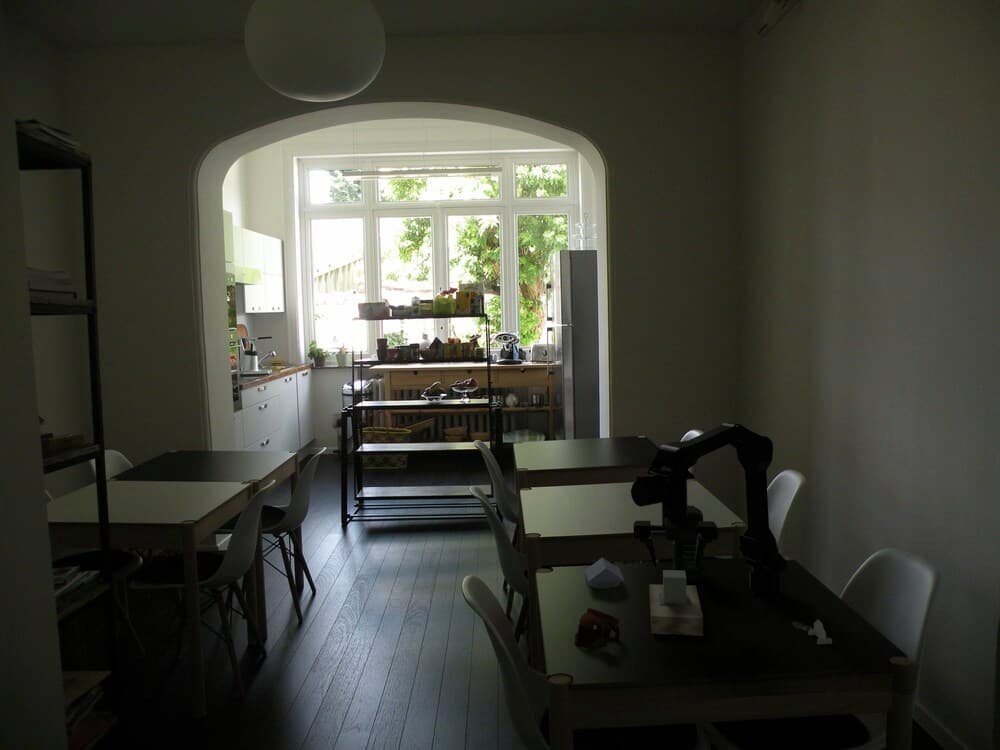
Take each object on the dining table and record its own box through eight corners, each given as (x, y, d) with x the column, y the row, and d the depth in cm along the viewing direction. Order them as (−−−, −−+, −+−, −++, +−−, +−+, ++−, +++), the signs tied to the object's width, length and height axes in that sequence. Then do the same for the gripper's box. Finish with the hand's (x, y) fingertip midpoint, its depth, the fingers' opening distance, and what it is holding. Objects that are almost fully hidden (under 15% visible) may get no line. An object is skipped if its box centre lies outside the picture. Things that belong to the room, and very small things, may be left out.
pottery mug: (565, 640, 174) (577, 603, 176) (603, 655, 176) (615, 618, 178) (584, 648, 163) (597, 608, 165) (625, 664, 164) (637, 624, 166)
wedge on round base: (624, 593, 199) (617, 576, 212) (623, 567, 199) (617, 551, 212) (588, 594, 200) (584, 577, 213) (587, 568, 199) (583, 552, 212)
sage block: (685, 595, 185) (684, 570, 185) (686, 603, 180) (686, 577, 180) (663, 595, 186) (663, 570, 185) (664, 603, 181) (663, 577, 180)
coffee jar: (706, 583, 205) (705, 512, 203) (674, 582, 206) (673, 512, 204) (701, 570, 214) (700, 502, 213) (671, 570, 215) (670, 502, 214)
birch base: (695, 601, 192) (695, 584, 192) (703, 635, 173) (703, 616, 172) (649, 600, 194) (649, 583, 194) (651, 633, 175) (651, 615, 174)
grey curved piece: (843, 647, 166) (843, 627, 165) (811, 649, 166) (811, 628, 165) (813, 619, 181) (813, 600, 180) (784, 620, 180) (784, 601, 180)
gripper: (633, 508, 175) (634, 577, 176) (720, 509, 172) (721, 579, 173) (632, 496, 186) (634, 561, 187) (715, 496, 183) (716, 563, 184)
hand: (675, 566), depth 183 cm, fingers open, 9 cm apart
